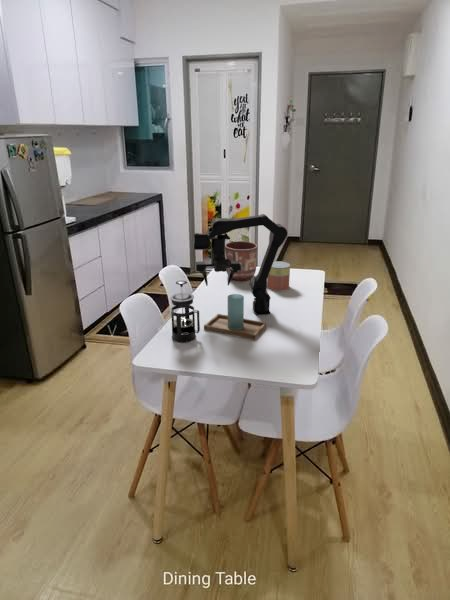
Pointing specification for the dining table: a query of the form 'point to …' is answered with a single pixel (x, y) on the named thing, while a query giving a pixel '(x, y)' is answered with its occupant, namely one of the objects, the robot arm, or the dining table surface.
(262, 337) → the dining table surface
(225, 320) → the tray
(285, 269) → the canned food
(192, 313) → the french press
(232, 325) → the tumbler
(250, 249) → the pottery
